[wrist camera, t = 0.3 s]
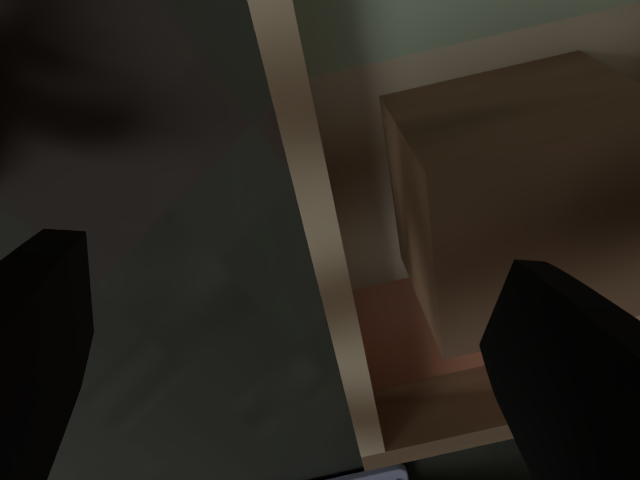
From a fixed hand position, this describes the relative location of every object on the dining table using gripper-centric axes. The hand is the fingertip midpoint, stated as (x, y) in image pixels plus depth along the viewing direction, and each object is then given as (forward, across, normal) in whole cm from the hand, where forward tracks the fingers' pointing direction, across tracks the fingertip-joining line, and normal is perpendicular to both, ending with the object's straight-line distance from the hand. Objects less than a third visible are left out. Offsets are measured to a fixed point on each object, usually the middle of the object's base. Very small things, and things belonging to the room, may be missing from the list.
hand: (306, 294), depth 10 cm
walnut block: (+8, -7, +1) cm, 11 cm away
